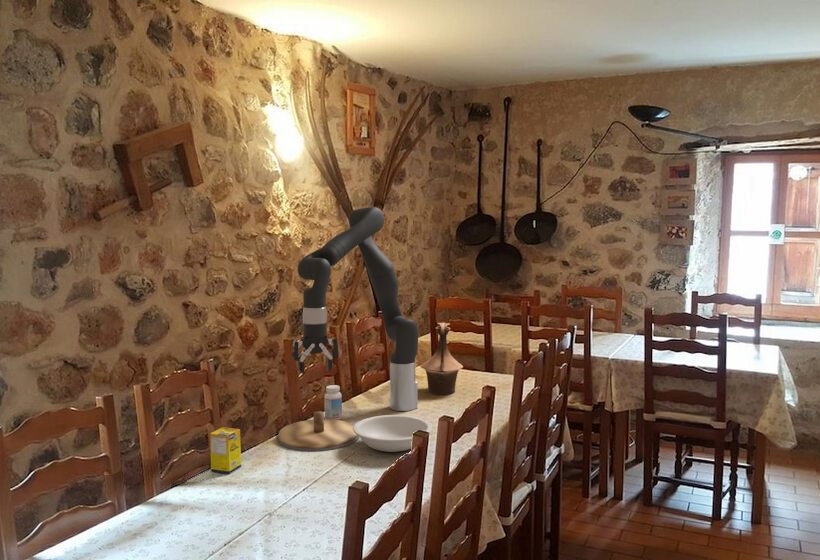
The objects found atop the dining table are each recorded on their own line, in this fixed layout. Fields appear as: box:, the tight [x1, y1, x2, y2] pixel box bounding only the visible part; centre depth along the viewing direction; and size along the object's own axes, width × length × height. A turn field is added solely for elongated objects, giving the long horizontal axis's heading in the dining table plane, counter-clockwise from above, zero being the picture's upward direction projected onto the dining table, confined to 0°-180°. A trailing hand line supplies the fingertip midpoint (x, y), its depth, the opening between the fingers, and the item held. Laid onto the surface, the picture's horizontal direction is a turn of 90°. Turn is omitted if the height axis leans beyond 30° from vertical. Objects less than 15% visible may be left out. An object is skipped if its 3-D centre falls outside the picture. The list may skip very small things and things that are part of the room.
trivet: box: [276, 433, 360, 452], centre depth 210 cm, size 26×26×1 cm
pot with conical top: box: [420, 322, 464, 395], centre depth 263 cm, size 18×17×28 cm
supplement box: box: [209, 426, 242, 475], centre depth 183 cm, size 6×6×11 cm
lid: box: [278, 410, 358, 449], centre depth 210 cm, size 25×25×7 cm
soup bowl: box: [353, 414, 433, 453], centre depth 200 cm, size 24×24×7 cm
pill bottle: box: [323, 384, 343, 420], centre depth 229 cm, size 6×6×11 cm
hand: (315, 371), depth 209 cm, fingers open, 8 cm apart
